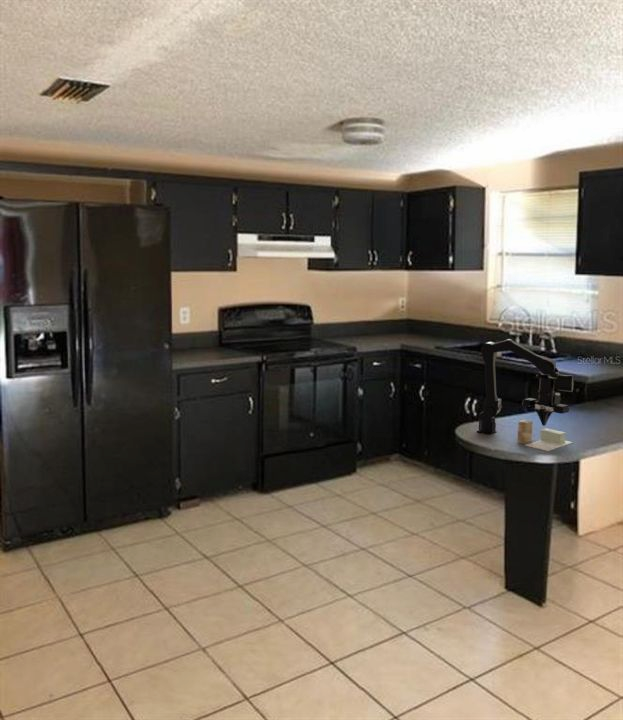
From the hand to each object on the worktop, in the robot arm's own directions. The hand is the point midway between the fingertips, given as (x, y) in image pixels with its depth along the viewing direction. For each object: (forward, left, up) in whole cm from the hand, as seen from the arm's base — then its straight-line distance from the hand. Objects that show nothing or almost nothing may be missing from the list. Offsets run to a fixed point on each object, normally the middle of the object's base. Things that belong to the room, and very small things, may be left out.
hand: (543, 425), depth 291 cm
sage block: (0, 0, -4) cm, 4 cm away
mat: (+6, -5, -6) cm, 10 cm away
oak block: (-2, -11, -6) cm, 13 cm away
